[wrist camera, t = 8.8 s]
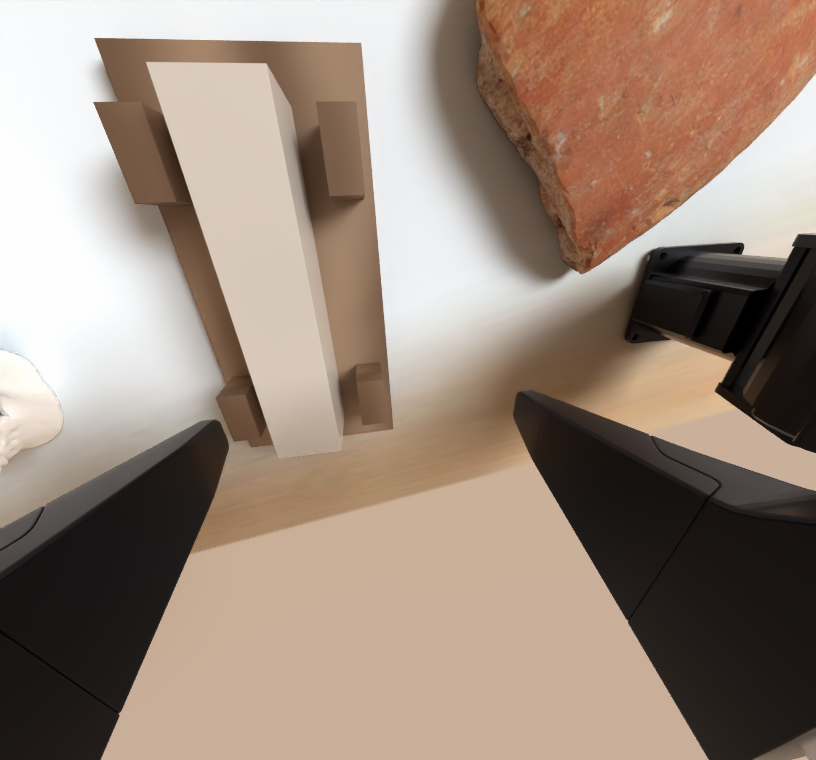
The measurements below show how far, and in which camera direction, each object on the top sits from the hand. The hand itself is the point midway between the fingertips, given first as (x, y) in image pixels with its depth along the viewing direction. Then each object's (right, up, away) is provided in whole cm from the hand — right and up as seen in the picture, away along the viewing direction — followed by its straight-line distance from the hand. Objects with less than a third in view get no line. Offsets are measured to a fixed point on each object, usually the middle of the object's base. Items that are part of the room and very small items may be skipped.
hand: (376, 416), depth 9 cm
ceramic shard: (+11, +17, +6) cm, 22 cm away
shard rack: (-6, +6, +8) cm, 12 cm away
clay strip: (-6, +6, +7) cm, 11 cm away
